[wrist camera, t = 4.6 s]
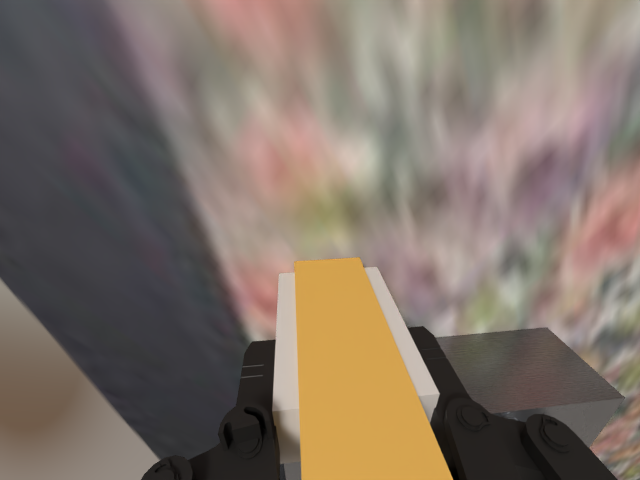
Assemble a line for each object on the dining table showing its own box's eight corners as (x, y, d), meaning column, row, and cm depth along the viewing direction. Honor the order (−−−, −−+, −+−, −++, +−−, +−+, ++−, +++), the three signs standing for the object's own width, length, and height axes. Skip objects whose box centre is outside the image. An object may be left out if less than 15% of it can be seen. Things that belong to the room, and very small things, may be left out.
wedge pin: (294, 261, 14) (307, 663, 4) (359, 257, 14) (515, 627, 4) (297, 312, 15) (313, 695, 6) (356, 307, 16) (468, 666, 6)
